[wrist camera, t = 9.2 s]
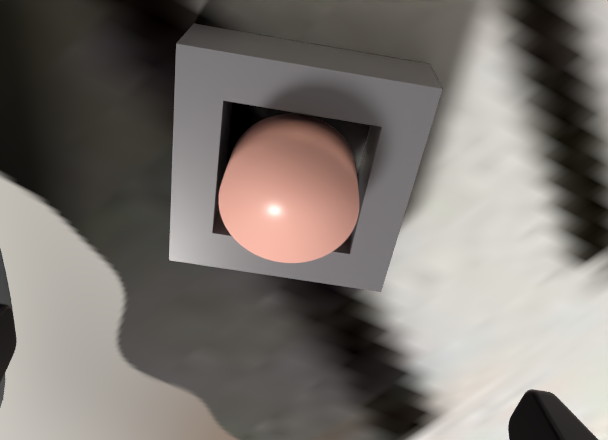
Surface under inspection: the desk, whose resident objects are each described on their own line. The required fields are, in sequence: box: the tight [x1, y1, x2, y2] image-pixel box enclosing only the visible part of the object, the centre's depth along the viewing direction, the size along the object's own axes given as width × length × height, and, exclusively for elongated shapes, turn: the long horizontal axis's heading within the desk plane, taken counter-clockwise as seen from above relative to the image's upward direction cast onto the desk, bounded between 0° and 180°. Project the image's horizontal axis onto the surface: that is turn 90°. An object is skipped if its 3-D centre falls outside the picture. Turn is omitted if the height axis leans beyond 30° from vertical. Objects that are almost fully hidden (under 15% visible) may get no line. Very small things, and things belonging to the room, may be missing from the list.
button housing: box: [169, 24, 443, 292], centre depth 20 cm, size 8×8×2 cm
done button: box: [218, 114, 359, 263], centre depth 18 cm, size 4×4×2 cm
